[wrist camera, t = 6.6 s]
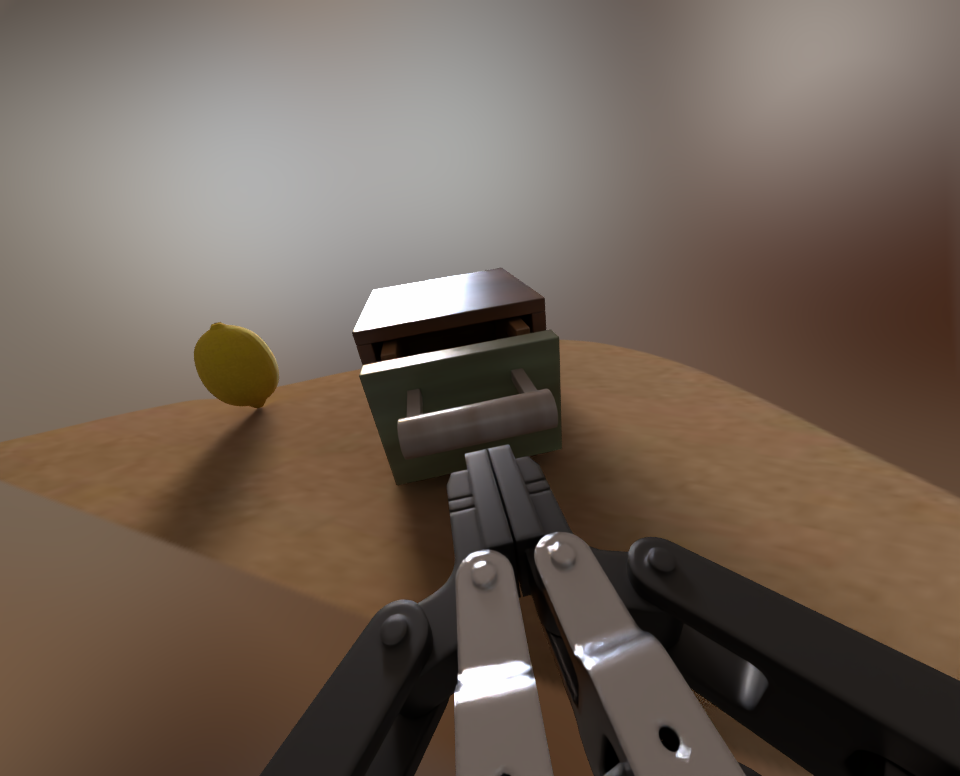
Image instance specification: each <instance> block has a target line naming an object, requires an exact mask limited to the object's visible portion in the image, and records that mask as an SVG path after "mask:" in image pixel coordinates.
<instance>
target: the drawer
mask: <svg viewBox="0 0 960 776" xmlns="http://www.w3.org/2000/svg"><path fill="white" fill-rule="evenodd" d="M381 359H382V362H378V363H373V364H367V365H363V366H362V369H361V372H360V375H359V377H360V380H361V383H362V386H363V389H364V392H365V395H366V398H367V400H368V403H369V406H370V409H371V412H372V415H373V418H374V421H375V424H376V427H377V430H378V432H379V435H380V438H381V441H382V444H383V447H384V450H385V453H386V456H387V459H388V462H389V464H390V467H391V470H392V473H393V476H394V479H395V482H396V485H402V484H406V483H411V482H415V481H420V480H424V479H429V478H433V477H438V476H442V475H447V474H451V473H454V472H458V471H463V470H467V464H466V459H465V453H470V452H475V451H479V450H484V449H486V451H487V449H489V448H493V447H498V446H503V445H507V444H509V445H510V447H511V450H512V452H513V455H514V457H515V459H517V458H522V457H526V456H532V455H537V454H542V453H546V452H551V451H555V450H560V449H562V433H561V393H560V352H559V337H558V336H557V335H556V334H555V333H554V332H553V331H552V330H545V331H540V332H535V333H530V328H529V327H528V326H527V325H526V323H525V322H524V321H523V320H522V319H521V318H520V317H519V316H516V317H510V318H505V319H500V320H494V321H489V322H484V323H478V324H473V325H467V326H462V327H457V328H451V329H446V330H441V331H435V332H430V333H424V334H419V335H414V336H408V337H403V338H398V339H392V340H387V341H384V343H383V347H382V352H381ZM487 454H488V451H487Z"/></svg>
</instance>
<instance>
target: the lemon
mask: <svg viewBox="0 0 960 776" xmlns="http://www.w3.org/2000/svg"><path fill="white" fill-rule="evenodd" d="M194 361H195V366H196V369H197V372H198V375H199V377H200V379H201V381H202V382H203V384H204V386H205V387H206V388H207V389H208V391H210V393H211V394H213V395H214V396H215V397H216V398H218V399H219V400H221V401H223V402H225V403H227V404H230V405H234V406H251V407H254V408H260V407H262V406H263V405H264V403H265V401H266V399H267V398H268V397H270V396H271V395H272V393H273V392H274V391H275V389H276V387H277V385H278V381H279V370H278V365H277V362H276V359H275V357H274V355H273V353H272V352H271V350H270V348H269V347H268V346H267V344H266V343H265V342H264V341H263V340H262V339H261V338H260V337H259V336H258V335H257V334H255V333H254V332H252V331H250V330H248V329H246V328H243V327H239V326H233V325H225V324H223V323H221V322H218V323H214V324H212V325H211V328H210V330H208V331H207V332H206V333H205V334H203V335H202V336H201V337H200V339H199V340H198V342H197V344H196V346H195V349H194Z"/></svg>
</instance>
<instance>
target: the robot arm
mask: <svg viewBox="0 0 960 776" xmlns="http://www.w3.org/2000/svg"><path fill="white" fill-rule="evenodd" d="M487 451H488V454H487ZM487 451H486V449H484V450H479V451H475V452H470V453H465V459H466V464H467V470H463V471H458V472H454V473H451V476H450V478H449V481H448V484H447V494H448V501H449V502H448V503H449V511H450V520H451V528H452V537H453V545H454V554H455V564H454V568H453V572H452V574H451V576H450V578H449V579H448V581H447V582H446V583H445V584H444V586H442V587H441V588H440V589H439V590H438V591H436V592H435V593H434V594H432V595H430V596H429V597H427V598H426V599H424V600H422V601H421V602H419V603H418V604H417V603H416V602H413V601H410V600H398V601H394V602H392V603H389V604H388V605H386V606H384V607H383V608H382V609H380V610H379V611H378V612H377V613H376V614H375V616H374V617H373V618H372V619H371V621H370V622H369V624H368V625H367V626H366V628H365V629H364V630H363V632H362V633H361V635H360V636H359V637H358V639H357V640H356V642H355V643H354V644H353V646H352V647H351V649H350V650H349V651H348V653H347V654H346V656H345V657H344V658H343V660H342V661H341V663H340V664H339V665H338V667H337V668H336V670H335V671H334V672H333V674H332V675H331V677H330V678H329V679H328V681H327V682H326V684H325V685H324V686H323V688H322V689H321V691H320V692H319V693H318V695H317V696H316V698H315V699H314V700H313V702H312V703H311V704H310V706H309V707H308V709H307V710H306V712H305V713H304V714H303V716H302V717H301V718H300V720H299V721H298V723H297V724H296V726H295V727H294V728H293V730H292V731H291V732H290V734H289V735H288V737H287V738H286V739H285V741H284V742H283V744H282V745H281V746H280V748H279V749H278V751H277V752H276V753H275V755H274V756H273V757H272V759H271V760H270V762H269V763H268V764H267V766H266V767H265V769H264V770H263V772H262V773H261V774H260V776H414V774H415V773H416V771H417V768H418V766H419V764H420V762H421V760H422V758H423V755H424V753H425V751H426V749H427V747H428V745H429V743H430V740H431V738H432V736H433V734H434V732H435V730H436V728H437V725H438V723H439V721H440V719H441V717H442V715H443V713H444V710H445V708H446V706H447V703H448V701H449V697H450V696H451V695H452V694H453V693H455V703H454V709H455V710H454V711H455V756H456V776H554V775H553V770H552V765H551V760H550V755H549V749H548V745H547V739H546V734H545V729H544V723H543V718H542V713H541V708H540V703H539V697H538V692H537V687H536V682H535V678H534V673H533V670H532V666H531V661H530V656H529V650H528V645H527V640H526V635H525V629H524V624H523V619H522V614H521V608H520V603H519V598H520V597H521V595H520V588H519V584H520V587H521V591H522V594H523V597H524V596H528V595H532V598H533V601H534V604H535V607H536V611H537V614H538V617H539V619H540V623H541V626H542V629H543V632H544V634H545V637H546V640H547V642H548V645H549V648H550V650H551V653H552V655H553V658H554V661H555V663H556V666H557V669H558V671H559V674H560V677H561V679H562V682H563V685H564V687H565V690H566V692H567V695H568V698H569V700H570V703H571V706H572V708H573V711H574V714H575V718H576V721H577V725H578V729H579V733H580V737H581V740H582V743H583V746H584V750H585V753H586V755H587V758H588V761H589V764H590V767H591V769H592V772H593V774H594V776H761V775H760V774H758V773H757V772H755V771H754V770H752V769H750V768H749V767H747V766H745V765H743V764H741V763H739V762H737V761H736V759H735V758H734V756H733V754H732V753H731V751H730V750H729V748H728V747H727V745H726V744H725V742H724V740H723V739H722V737H721V736H720V734H719V733H718V731H717V730H716V728H715V726H714V725H713V723H712V722H711V720H710V719H709V717H708V715H707V714H706V712H705V711H704V709H703V708H702V706H701V705H700V703H699V701H698V700H697V698H696V697H695V695H694V694H693V692H692V690H691V689H693V690H694V691H695V692H697V693H698V694H700V695H701V696H703V697H704V698H705V699H707V700H708V701H710V702H711V703H712V704H714V705H715V706H717V707H718V708H719V709H721V710H722V711H724V712H725V713H727V714H728V715H729V716H731V717H732V718H734V719H735V720H736V721H738V722H739V723H741V724H742V725H743V726H745V727H746V728H748V729H749V730H751V731H752V732H753V733H755V734H756V735H758V736H759V737H760V738H762V739H763V740H765V741H766V742H767V743H769V744H770V745H772V746H773V747H775V748H776V749H777V750H779V751H780V752H782V753H783V754H784V755H786V756H787V757H789V758H790V759H791V760H793V761H794V762H796V763H797V764H799V765H800V766H801V767H803V768H804V769H806V770H807V771H808V772H810V773H811V774H813V775H814V776H960V681H959V680H957V679H955V678H952V677H950V676H948V675H946V674H944V673H942V672H940V671H938V670H936V669H934V668H932V667H930V666H928V665H926V664H923V663H921V662H919V661H917V660H915V659H913V658H911V657H909V656H907V655H905V654H903V653H901V652H899V651H897V650H894V649H892V648H890V647H888V646H886V645H884V644H882V643H880V642H878V641H876V640H874V639H872V638H870V637H868V636H865V635H863V634H861V633H859V632H857V631H855V630H853V629H851V628H849V627H847V626H845V625H843V624H841V623H839V622H837V621H834V620H832V619H830V618H828V617H826V616H824V615H822V614H820V613H818V612H816V611H814V610H812V609H810V608H808V607H805V606H803V605H801V604H799V603H797V602H795V601H793V600H791V599H789V598H787V597H785V596H783V595H781V594H779V593H776V592H774V591H772V590H770V589H768V588H766V587H764V586H762V585H760V584H758V583H756V582H754V581H752V580H750V579H747V578H745V577H743V576H741V575H739V574H737V573H735V572H733V571H731V570H729V569H727V568H725V567H723V566H721V565H719V564H716V563H714V562H712V561H710V560H708V559H706V558H704V557H702V556H700V555H698V554H696V553H694V552H692V551H690V550H687V549H685V548H683V547H681V546H679V545H677V544H675V543H673V542H671V541H668V540H666V539H662V538H658V537H645V538H642V539H639V540H637V541H636V542H635V543H633V545H632V546H631V547H630V550H629V552H621V551H607V550H599V549H595V548H593V547H590V546H588V545H587V544H586V543H585V542H584V541H583V540H582V539H581V538H579V537H578V536H576V535H574V534H573V533H572V531H571V530H570V528H569V526H568V524H567V522H566V519H565V517H564V515H563V513H562V511H561V509H560V507H559V505H558V503H557V501H556V499H555V497H554V495H553V493H552V491H551V490H550V486H549V484H548V482H547V480H546V479H545V476H544V474H543V472H542V470H541V468H540V466H539V465H538V464H537V463H536V462H535V461H533V460H532V459H531V458H530V457H528V456H526V457H522V458H517V459H515V457H514V455H513V452H512V450H511V447H510V445H509V444H507V445H503V446H498V447H493V448H489V449H487ZM690 688H691V689H690Z"/></svg>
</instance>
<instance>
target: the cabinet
mask: <svg viewBox="0 0 960 776" xmlns="http://www.w3.org/2000/svg"><path fill="white" fill-rule="evenodd" d="M516 316H519V317H520V318H521V319H522V320H523V321H524V322H525V323H526V325H527V326H528V327H529V328H530V333H535V332H540V331H545V330H546V315H545V298H544V297H543V296H541V295H540V294H539V293H537V292H536V291H534V290H533V289H531V288H530V287H529V286H527V285H526V284H524V283H523V282H521V281H520V280H519V279H517V278H516V277H514V276H513V275H511V274H510V273H509V272H507V271H506V270H504V269H503V268H497V269H491V270H486V271H480V272H474V273H468V274H463V275H457V276H451V277H445V278H440V279H434V280H428V281H423V282H416V283H411V284H405V285H400V286H393V287H388V288H382V289H376V290H373V291H372V293H371V295H370V297H369V299H368V301H367V303H366V306H365V308H364V310H363V312H362V314H361V316H360V318H359V320H358V322H357V324H356V326H355V328H354V330H353V332H352V334H353V337H354V340H355V343H356V345H357V349H358V352H359V356H360V359H361V362H362V364H363V365H367V364H373V363H378V362H382V359H381V352H382V347H383V343H384V341H387V340H392V339H398V338H403V337H408V336H414V335H419V334H424V333H430V332H435V331H441V330H446V329H451V328H457V327H462V326H467V325H473V324H478V323H484V322H489V321H494V320H500V319H505V318H510V317H516Z"/></svg>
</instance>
